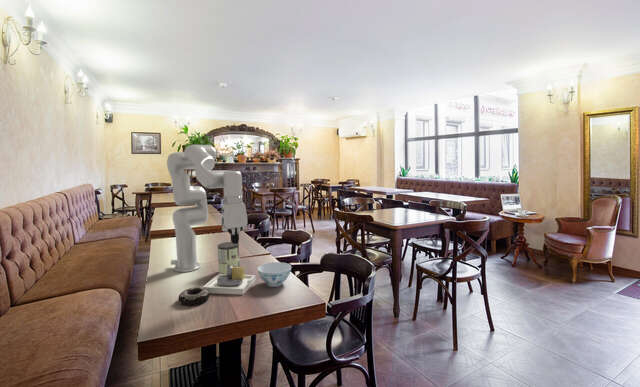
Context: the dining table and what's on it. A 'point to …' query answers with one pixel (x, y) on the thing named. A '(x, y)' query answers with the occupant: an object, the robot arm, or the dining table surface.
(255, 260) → the dining table surface
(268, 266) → the chinaware
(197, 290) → the donut
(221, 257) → the coffee can
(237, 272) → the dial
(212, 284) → the white square tray
